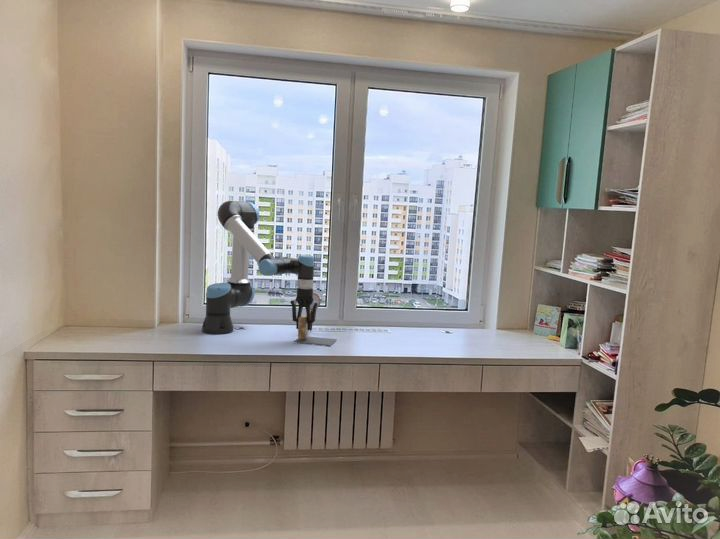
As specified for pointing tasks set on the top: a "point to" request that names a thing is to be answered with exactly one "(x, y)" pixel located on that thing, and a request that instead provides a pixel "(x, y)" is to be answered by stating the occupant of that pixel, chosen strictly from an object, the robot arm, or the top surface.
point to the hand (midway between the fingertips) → (303, 336)
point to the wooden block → (302, 327)
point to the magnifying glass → (316, 299)
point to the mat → (316, 341)
